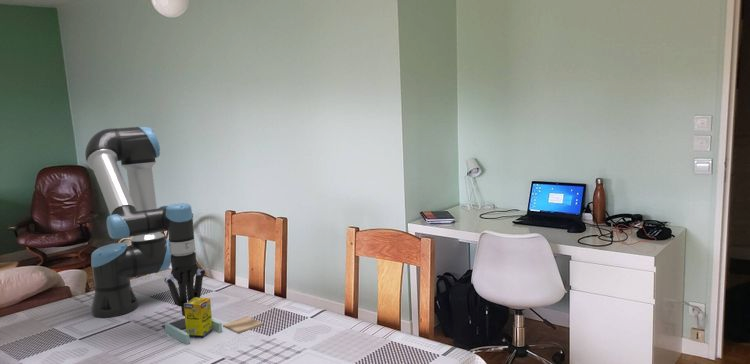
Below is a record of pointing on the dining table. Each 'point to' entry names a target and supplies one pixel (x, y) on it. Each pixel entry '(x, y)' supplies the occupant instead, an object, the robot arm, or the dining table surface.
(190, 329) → the supplement box
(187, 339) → the channel
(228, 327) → the pad
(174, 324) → the mat
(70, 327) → the dining table surface
